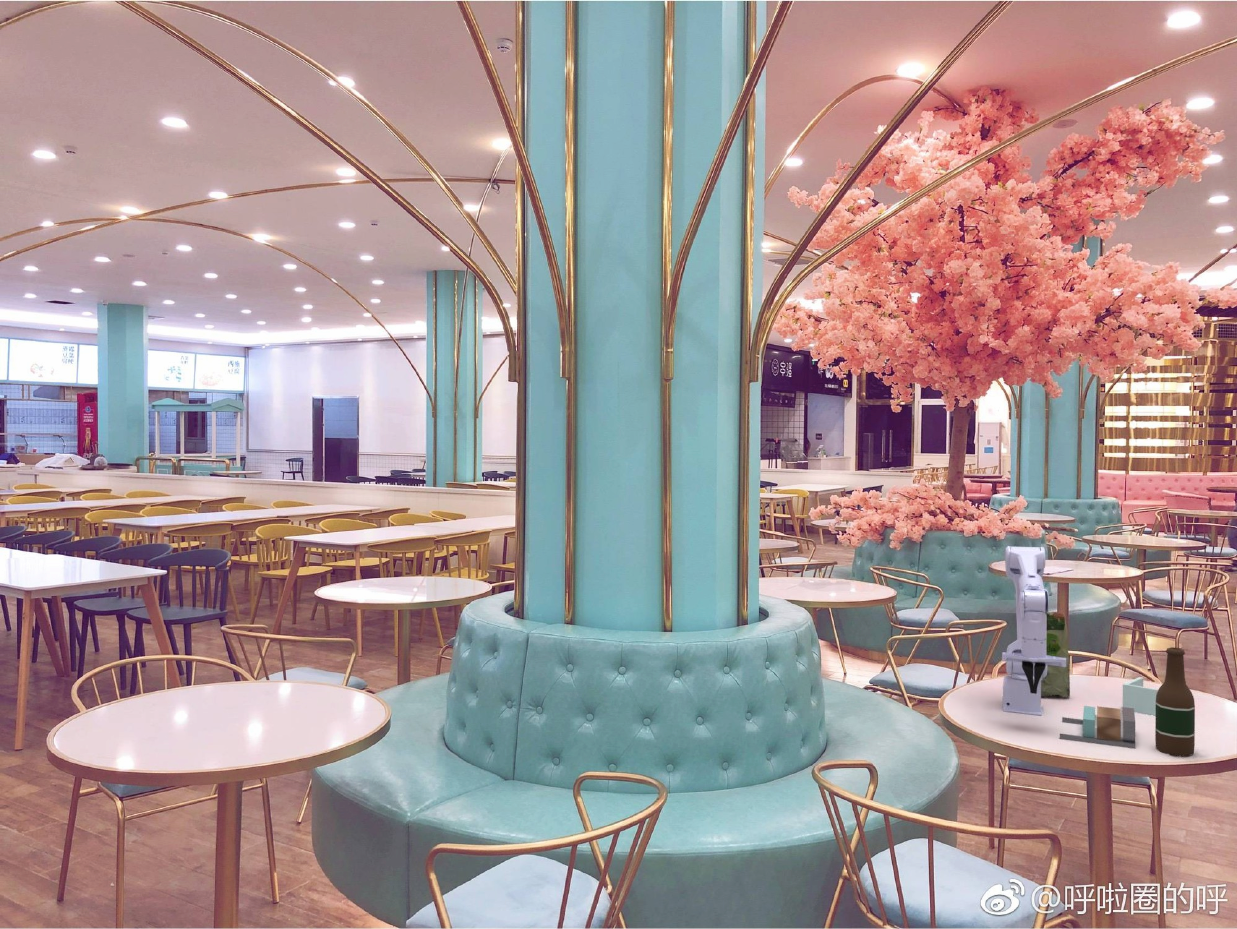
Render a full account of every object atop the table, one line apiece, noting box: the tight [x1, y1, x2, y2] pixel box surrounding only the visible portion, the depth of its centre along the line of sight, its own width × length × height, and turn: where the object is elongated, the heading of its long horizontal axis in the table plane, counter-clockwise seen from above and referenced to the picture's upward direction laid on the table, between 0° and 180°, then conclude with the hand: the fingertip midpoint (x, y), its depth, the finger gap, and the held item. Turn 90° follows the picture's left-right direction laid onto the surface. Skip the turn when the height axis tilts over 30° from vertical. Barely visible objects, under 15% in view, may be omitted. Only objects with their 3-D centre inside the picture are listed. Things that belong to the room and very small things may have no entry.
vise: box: [1059, 706, 1136, 750], centre depth 227 cm, size 16×16×6 cm
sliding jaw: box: [1082, 705, 1097, 738], centre depth 227 cm, size 3×13×5 cm, turn 152°
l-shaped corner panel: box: [1122, 676, 1159, 717], centre depth 248 cm, size 12×12×8 cm
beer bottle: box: [1154, 646, 1196, 758], centre depth 214 cm, size 8×8×24 cm
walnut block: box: [1096, 705, 1121, 741], centre depth 226 cm, size 5×10×6 cm, turn 152°
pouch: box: [1041, 610, 1071, 698], centre depth 264 cm, size 11×12×25 cm
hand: (1033, 692), depth 230 cm, fingers closed
